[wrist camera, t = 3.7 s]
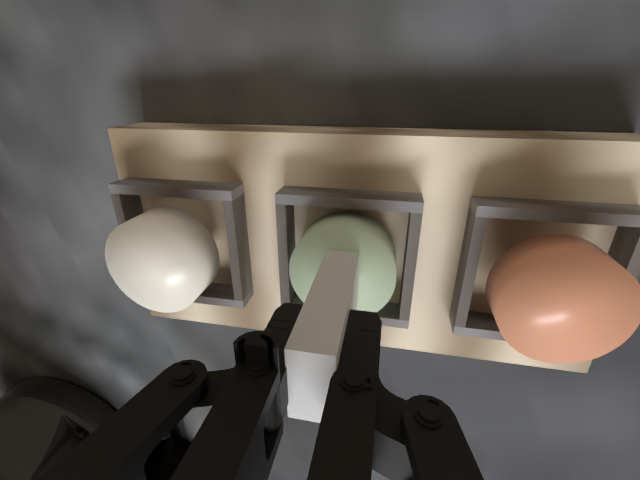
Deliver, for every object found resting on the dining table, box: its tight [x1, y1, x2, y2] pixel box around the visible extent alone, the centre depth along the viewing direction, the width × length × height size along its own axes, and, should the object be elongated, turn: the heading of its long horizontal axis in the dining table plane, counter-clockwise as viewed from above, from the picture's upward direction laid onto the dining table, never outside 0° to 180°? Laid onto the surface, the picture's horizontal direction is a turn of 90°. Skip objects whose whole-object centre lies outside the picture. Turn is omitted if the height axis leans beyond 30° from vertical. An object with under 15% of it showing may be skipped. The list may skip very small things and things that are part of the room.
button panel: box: [107, 122, 640, 373], centre depth 19 cm, size 26×12×4 cm, turn 90°
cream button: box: [105, 207, 220, 313], centre depth 18 cm, size 5×5×2 cm
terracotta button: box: [486, 234, 640, 364], centre depth 15 cm, size 5×5×2 cm
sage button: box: [289, 211, 396, 312], centre depth 17 cm, size 5×5×2 cm
